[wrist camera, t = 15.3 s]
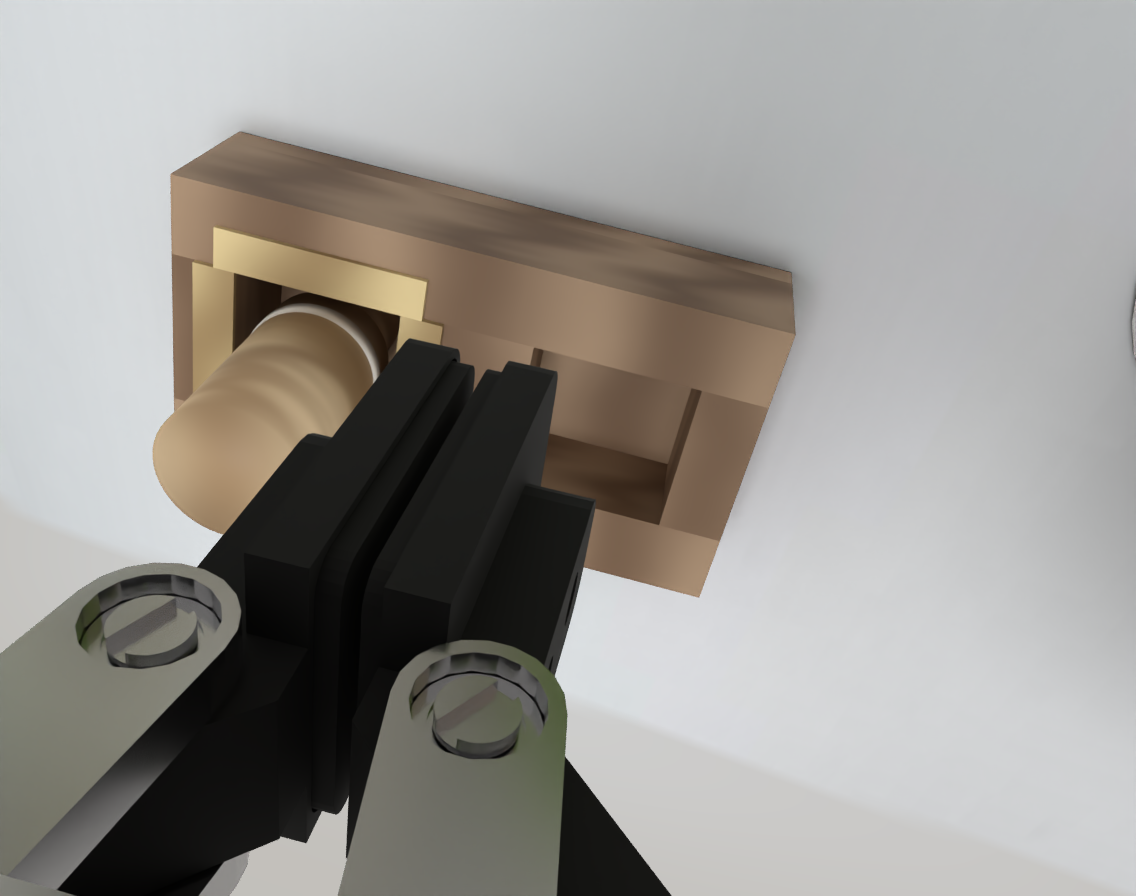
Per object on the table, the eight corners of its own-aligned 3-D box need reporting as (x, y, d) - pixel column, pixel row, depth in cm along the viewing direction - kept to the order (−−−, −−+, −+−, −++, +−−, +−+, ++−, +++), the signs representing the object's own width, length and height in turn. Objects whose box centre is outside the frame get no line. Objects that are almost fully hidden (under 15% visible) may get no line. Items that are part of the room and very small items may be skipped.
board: (791, 272, 35) (796, 337, 31) (705, 518, 41) (698, 601, 37) (239, 131, 36) (167, 176, 32) (233, 394, 42) (172, 462, 38)
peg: (419, 273, 37) (308, 424, 27) (408, 381, 39) (302, 554, 30) (298, 246, 37) (146, 388, 27) (295, 355, 39) (154, 519, 30)
